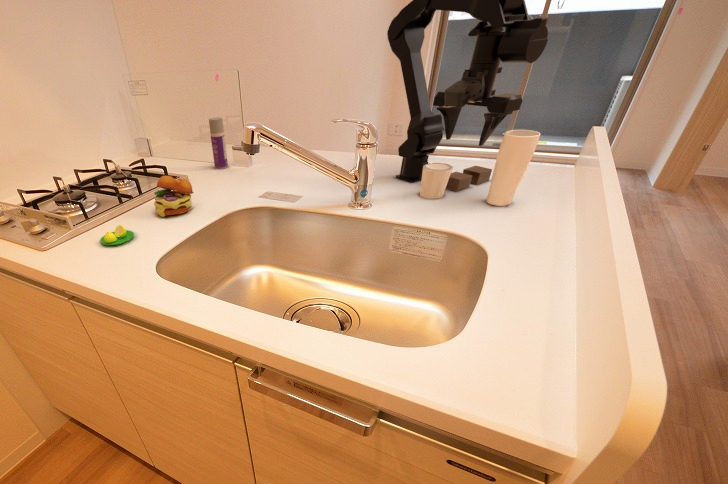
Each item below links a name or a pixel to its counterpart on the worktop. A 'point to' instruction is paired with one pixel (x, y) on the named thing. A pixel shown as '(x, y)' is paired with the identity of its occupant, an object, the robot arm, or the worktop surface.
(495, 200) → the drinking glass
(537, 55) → the robot arm
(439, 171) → the cream cup
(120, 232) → the lemon
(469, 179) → the walnut block near
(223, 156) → the container
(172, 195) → the cheeseburger
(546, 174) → the worktop surface
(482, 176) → the walnut block far
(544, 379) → the worktop surface
